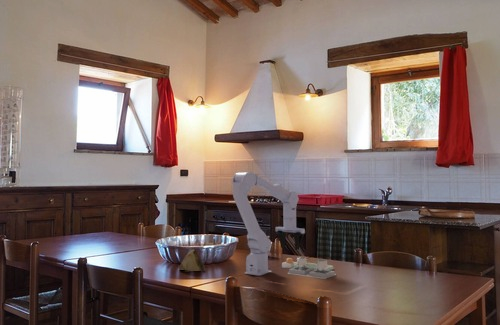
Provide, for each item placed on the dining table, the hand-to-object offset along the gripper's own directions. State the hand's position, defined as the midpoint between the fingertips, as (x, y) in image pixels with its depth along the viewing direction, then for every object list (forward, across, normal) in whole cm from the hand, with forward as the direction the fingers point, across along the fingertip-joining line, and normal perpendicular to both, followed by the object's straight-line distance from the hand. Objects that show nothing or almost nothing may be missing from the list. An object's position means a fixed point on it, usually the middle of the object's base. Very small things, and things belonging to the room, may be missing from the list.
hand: (290, 248), depth 207 cm
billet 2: (+8, -20, +7) cm, 23 cm away
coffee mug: (+9, +32, -18) cm, 38 cm away
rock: (+9, +32, +30) cm, 45 cm away
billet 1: (+8, -10, +7) cm, 15 cm away
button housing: (+9, +1, 0) cm, 9 cm away
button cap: (+8, +1, 0) cm, 8 cm away
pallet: (+9, -16, +8) cm, 19 cm away
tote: (+9, -10, -2) cm, 14 cm away
